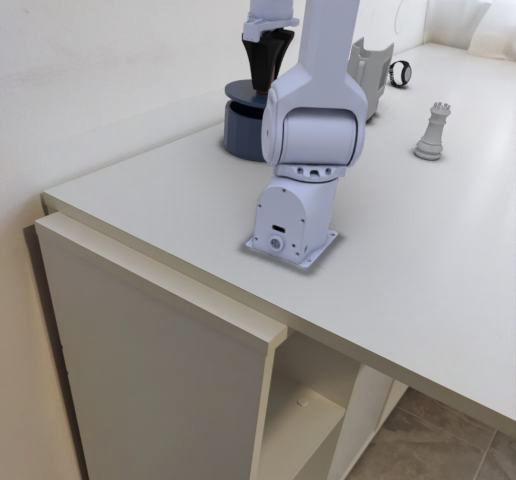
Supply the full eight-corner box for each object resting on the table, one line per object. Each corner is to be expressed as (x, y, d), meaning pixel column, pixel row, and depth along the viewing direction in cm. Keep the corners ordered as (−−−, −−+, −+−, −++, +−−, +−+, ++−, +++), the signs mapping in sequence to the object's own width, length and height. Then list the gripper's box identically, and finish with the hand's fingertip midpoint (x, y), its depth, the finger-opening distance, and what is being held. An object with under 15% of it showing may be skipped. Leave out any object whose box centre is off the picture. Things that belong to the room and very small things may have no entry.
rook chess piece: (441, 162, 86) (458, 111, 81) (413, 158, 86) (428, 106, 81) (439, 152, 89) (455, 102, 84) (413, 148, 90) (427, 98, 84)
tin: (272, 167, 79) (277, 127, 75) (210, 148, 82) (212, 108, 78) (303, 146, 86) (309, 108, 82) (245, 128, 89) (248, 91, 85)
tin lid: (288, 119, 74) (293, 79, 70) (211, 101, 76) (212, 62, 73) (311, 96, 82) (317, 60, 79) (241, 81, 85) (244, 46, 81)
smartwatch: (397, 90, 114) (403, 64, 111) (382, 82, 118) (388, 57, 114) (412, 89, 116) (418, 64, 113) (397, 81, 119) (403, 57, 116)
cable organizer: (381, 109, 103) (397, 40, 95) (364, 128, 95) (381, 53, 87) (348, 102, 105) (361, 33, 97) (329, 120, 96) (342, 46, 88)
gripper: (285, -13, 63) (272, 107, 72) (318, -25, 73) (304, 80, 82) (230, -23, 64) (224, 96, 73) (270, -33, 75) (261, 72, 84)
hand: (263, 87), depth 78 cm, fingers closed on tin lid, 2 cm apart
